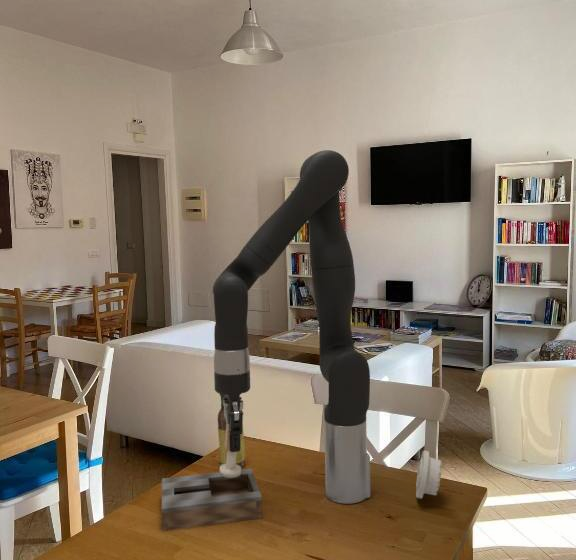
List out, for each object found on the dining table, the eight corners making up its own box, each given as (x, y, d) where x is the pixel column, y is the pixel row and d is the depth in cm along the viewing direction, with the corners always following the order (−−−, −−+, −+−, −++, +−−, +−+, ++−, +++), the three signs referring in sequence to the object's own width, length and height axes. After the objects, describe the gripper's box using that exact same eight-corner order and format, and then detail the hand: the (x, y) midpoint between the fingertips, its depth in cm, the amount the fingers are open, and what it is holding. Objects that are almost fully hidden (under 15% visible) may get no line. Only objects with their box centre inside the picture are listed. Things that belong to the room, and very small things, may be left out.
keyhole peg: (239, 468, 124) (243, 417, 123) (242, 477, 120) (247, 424, 119) (218, 468, 123) (222, 416, 122) (220, 477, 119) (225, 424, 118)
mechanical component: (414, 484, 129) (422, 443, 128) (434, 488, 128) (442, 447, 127) (414, 505, 120) (422, 461, 118) (435, 510, 119) (444, 465, 117)
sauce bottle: (248, 462, 144) (246, 385, 142) (241, 472, 138) (238, 392, 136) (224, 460, 146) (221, 384, 144) (215, 470, 140) (212, 391, 138)
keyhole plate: (252, 487, 130) (251, 468, 130) (262, 518, 116) (261, 496, 116) (162, 498, 126) (161, 478, 125) (162, 531, 112) (161, 509, 112)
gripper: (254, 375, 113) (256, 459, 115) (245, 360, 127) (246, 434, 129) (217, 378, 112) (219, 463, 113) (211, 362, 125) (213, 438, 127)
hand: (234, 447), depth 121 cm, fingers closed on keyhole peg, 3 cm apart
